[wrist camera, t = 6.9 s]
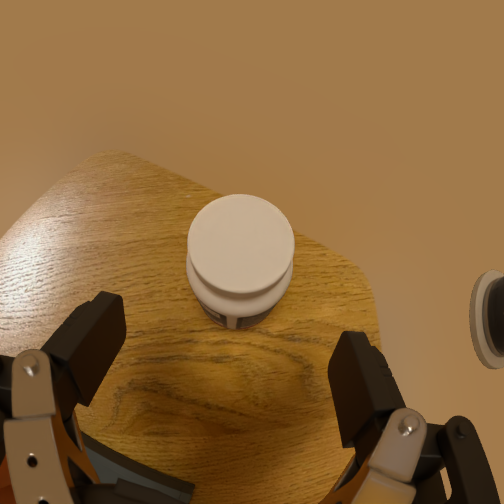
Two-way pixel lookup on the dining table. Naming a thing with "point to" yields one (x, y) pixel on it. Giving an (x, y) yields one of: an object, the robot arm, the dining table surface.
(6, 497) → the amber bottle
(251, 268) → the pill bottle
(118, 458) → the tray
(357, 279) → the dining table surface
